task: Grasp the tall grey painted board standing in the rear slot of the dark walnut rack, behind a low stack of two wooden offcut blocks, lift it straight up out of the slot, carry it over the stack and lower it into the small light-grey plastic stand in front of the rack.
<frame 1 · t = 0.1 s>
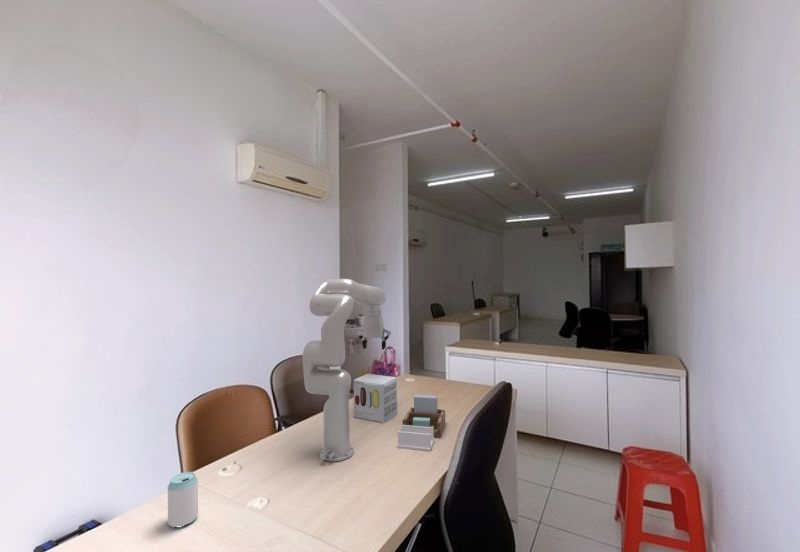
hand: (374, 348, 180), 31 cm above the table, fingers open, 9 cm apart
supplement box: (375, 416, 174), on the table
stand: (416, 444, 143), on the table
can: (183, 521, 99), on the table
offcut top: (421, 426, 154), point 3 cm above the table
rack: (424, 428, 158), on the table
sheet: (426, 425, 161), resting in rack
offcut low: (423, 433, 154), resting in rack
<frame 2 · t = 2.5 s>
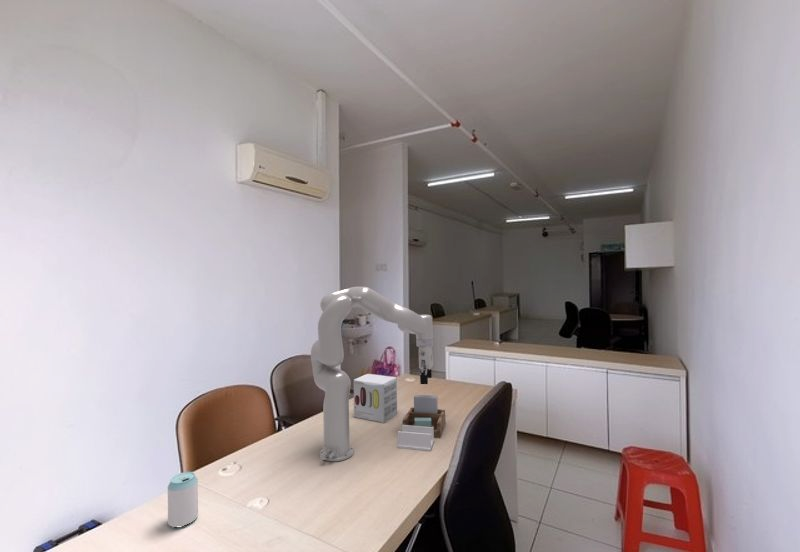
hand: (426, 380, 162), 20 cm above the table, fingers open, 9 cm apart
offcut top: (423, 426, 154), point 3 cm above the table, touching offcut low
offcut low: (423, 433, 154), resting in rack, touching offcut top
everything else where it was.
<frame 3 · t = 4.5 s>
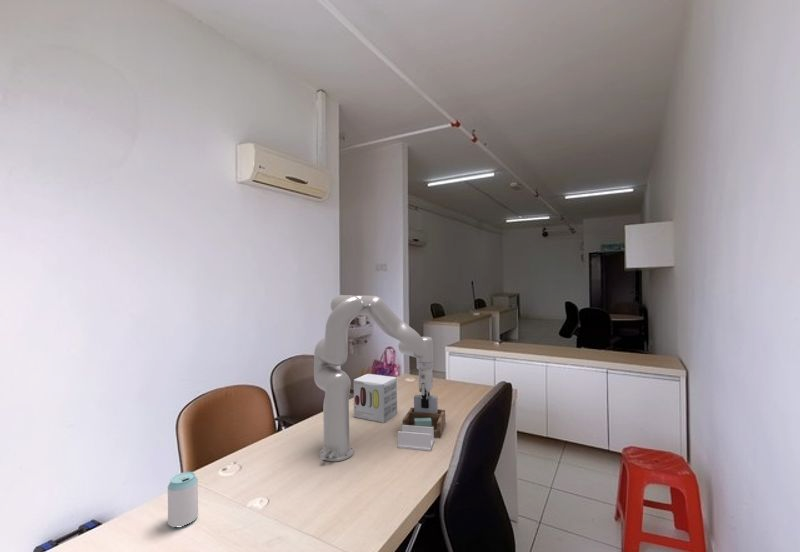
hand: (425, 405, 161), 9 cm above the table, fingers closed on sheet, 3 cm apart
sheet: (426, 425, 161), resting in rack, touching gripper
everything else where it was.
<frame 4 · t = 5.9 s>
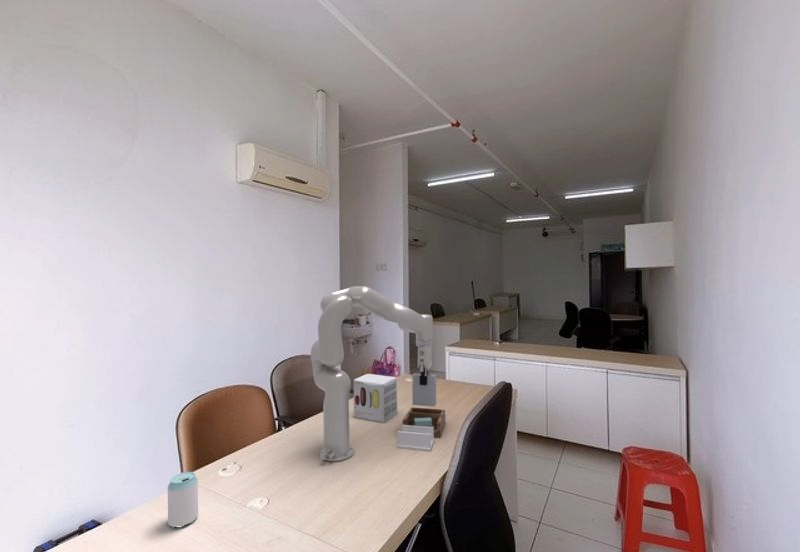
hand: (424, 383, 161), 19 cm above the table, fingers closed on sheet, 3 cm apart
sheet: (424, 404, 161), point 10 cm above the table, touching gripper
everything else where it was.
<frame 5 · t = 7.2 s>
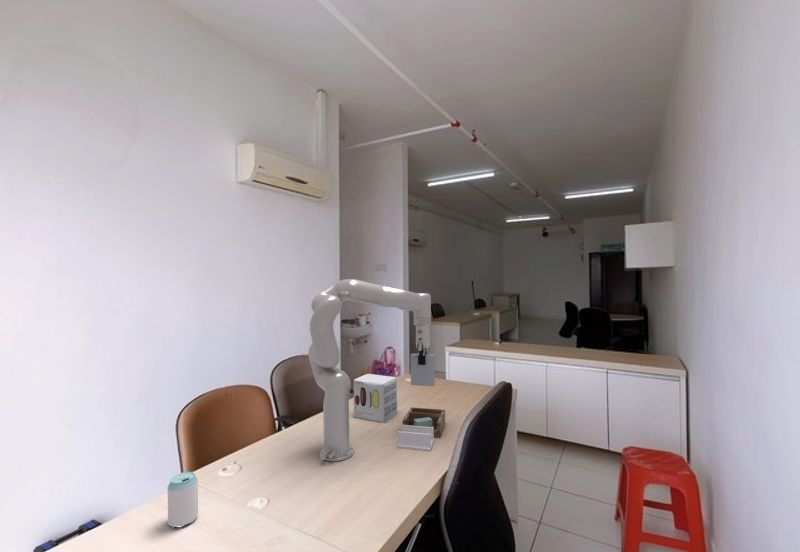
hand: (422, 363, 158), 29 cm above the table, fingers closed on sheet, 3 cm apart
offcut top: (423, 426, 153), point 3 cm above the table
sheet: (422, 384, 158), point 19 cm above the table, touching gripper
offcut low: (423, 433, 153), resting in rack
everything else where it was.
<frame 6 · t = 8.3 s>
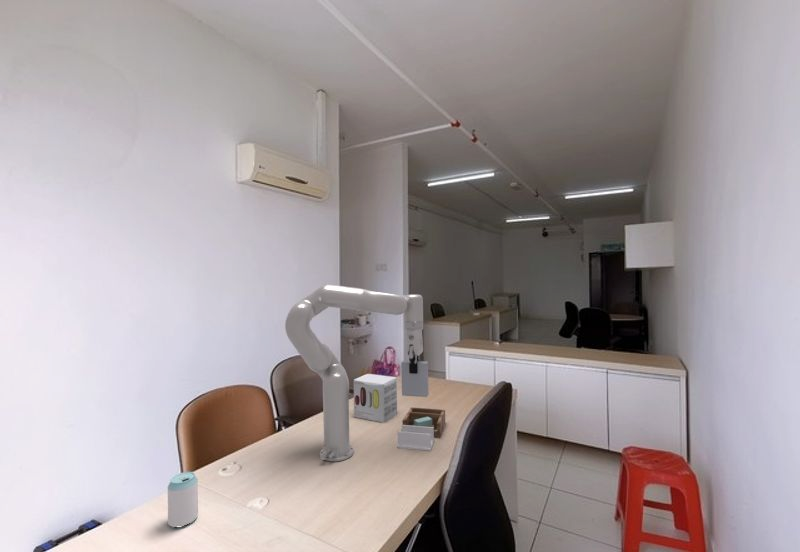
hand: (414, 371, 143), 29 cm above the table, fingers closed on sheet, 3 cm apart
offcut top: (423, 426, 154), point 3 cm above the table, touching offcut low
sheet: (415, 395, 143), point 19 cm above the table, touching gripper
offcut low: (423, 433, 154), resting in rack, touching offcut top
everything else where it was.
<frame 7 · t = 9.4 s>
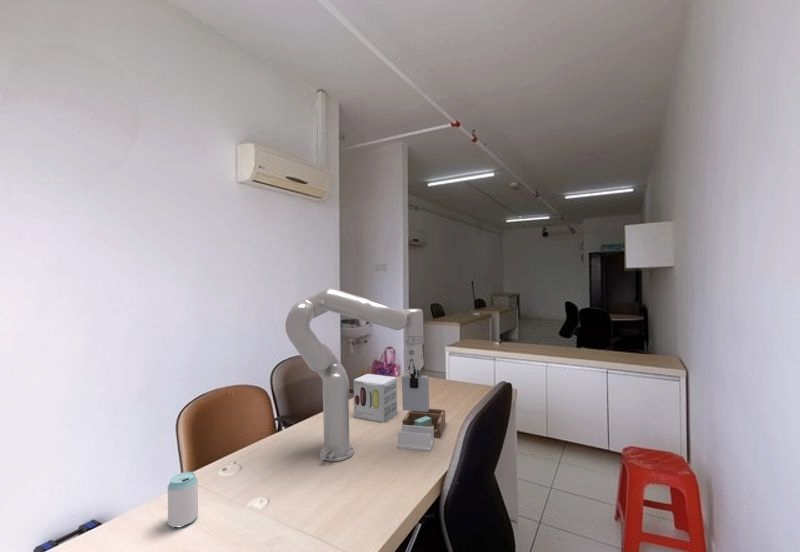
hand: (415, 385, 143), 23 cm above the table, fingers closed on sheet, 3 cm apart
sheet: (416, 409, 143), point 14 cm above the table, touching gripper
when the fingers open (10 cm above the table, at t = 12.2 s): sheet stays where it is, resting on stand.
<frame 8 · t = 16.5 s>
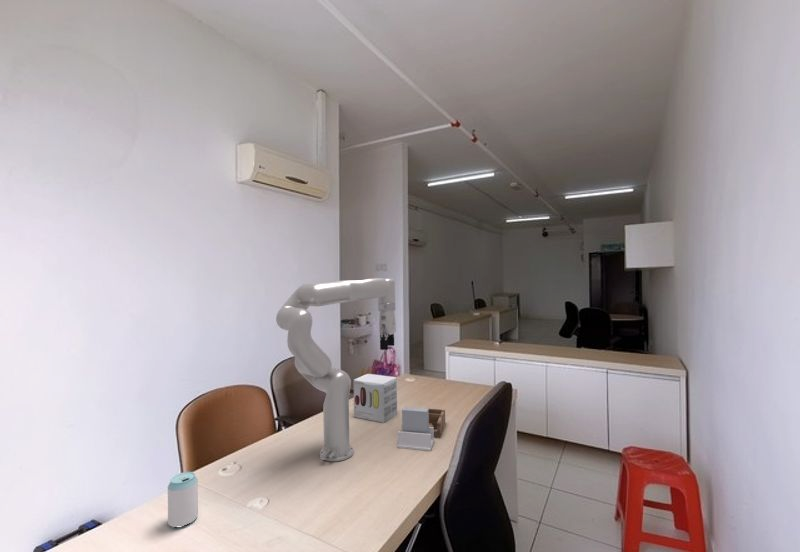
hand: (387, 347, 155), 36 cm above the table, fingers open, 9 cm apart
offcut top: (421, 425, 155), point 3 cm above the table
sheet: (416, 442, 143), point 1 cm above the table, touching stand
offcut low: (422, 432, 155), resting in rack
everything else where it was.
at the end: sheet inside the target area on the stand (0.1 cm from its centre), point 0.8 cm above the stand's base; the gripper is holding nothing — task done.
